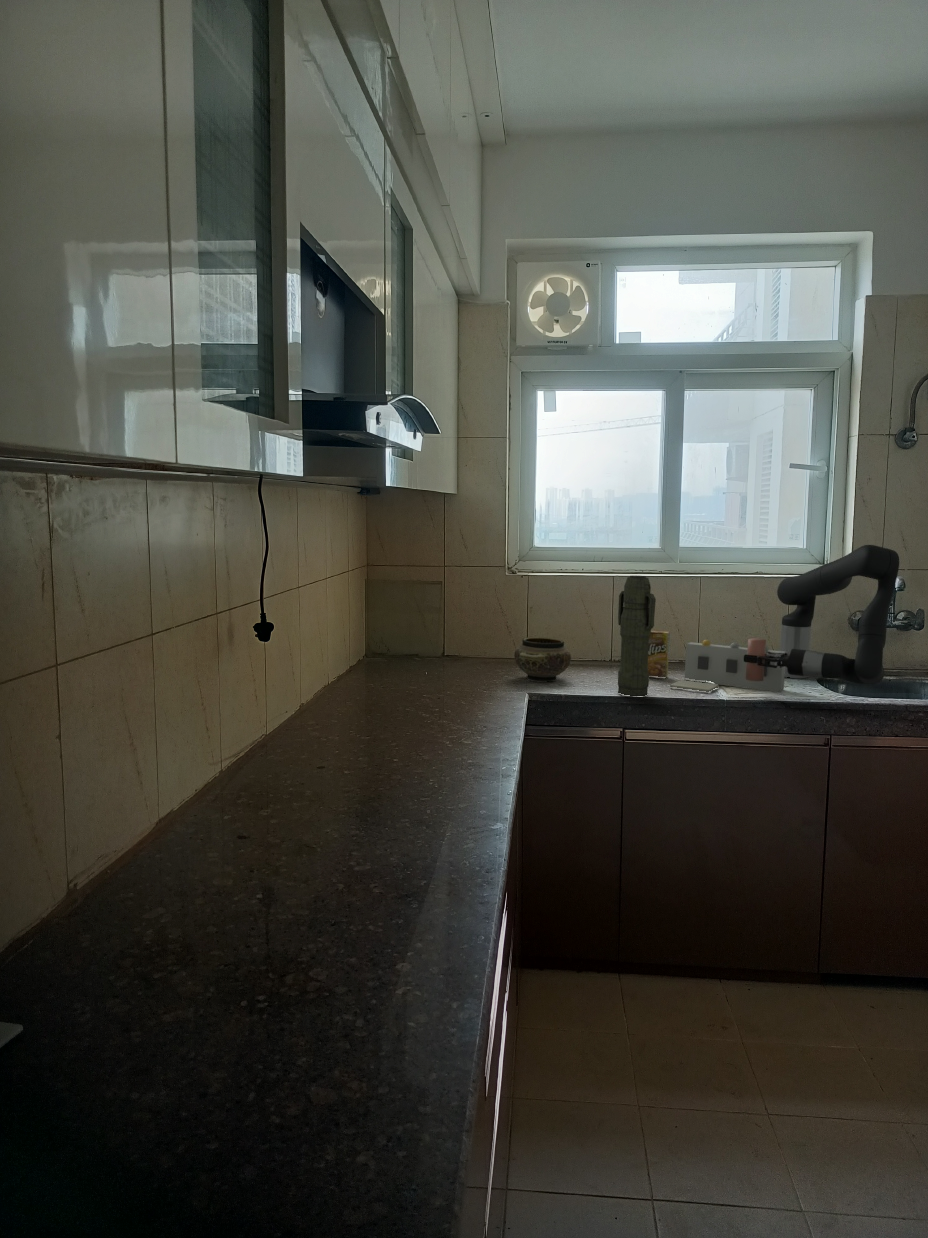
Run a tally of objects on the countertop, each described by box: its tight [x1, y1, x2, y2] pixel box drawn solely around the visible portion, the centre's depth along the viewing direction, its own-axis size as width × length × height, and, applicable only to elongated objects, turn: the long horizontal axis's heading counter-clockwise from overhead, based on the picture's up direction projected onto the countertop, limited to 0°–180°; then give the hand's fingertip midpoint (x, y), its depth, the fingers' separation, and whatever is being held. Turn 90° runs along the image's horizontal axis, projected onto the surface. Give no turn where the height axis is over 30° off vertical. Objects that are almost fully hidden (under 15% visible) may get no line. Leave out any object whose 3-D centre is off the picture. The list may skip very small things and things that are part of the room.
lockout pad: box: [669, 679, 720, 692], centre depth 266 cm, size 10×12×1 cm
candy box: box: [648, 630, 671, 678], centre depth 283 cm, size 9×4×15 cm, turn 70°
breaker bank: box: [684, 639, 786, 693], centre depth 272 cm, size 6×30×14 cm, turn 57°
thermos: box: [617, 575, 657, 697], centre depth 254 cm, size 9×12×35 cm
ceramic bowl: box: [513, 636, 572, 683], centre depth 275 cm, size 24×18×15 cm
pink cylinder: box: [746, 637, 767, 681], centre depth 255 cm, size 5×5×12 cm
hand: (746, 656), depth 257 cm, fingers closed on pink cylinder, 5 cm apart
